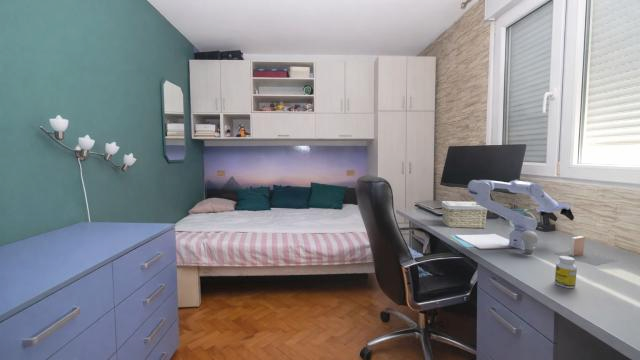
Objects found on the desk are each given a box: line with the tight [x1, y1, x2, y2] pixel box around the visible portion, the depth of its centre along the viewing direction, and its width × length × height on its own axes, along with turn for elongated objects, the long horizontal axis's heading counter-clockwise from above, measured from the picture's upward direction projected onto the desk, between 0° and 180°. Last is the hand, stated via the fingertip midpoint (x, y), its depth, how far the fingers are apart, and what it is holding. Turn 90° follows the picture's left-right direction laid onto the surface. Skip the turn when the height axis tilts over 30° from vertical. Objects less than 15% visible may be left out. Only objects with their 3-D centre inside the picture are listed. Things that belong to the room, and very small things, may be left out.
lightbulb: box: [521, 231, 539, 255], centre depth 128 cm, size 6×6×11 cm
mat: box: [554, 250, 618, 266], centre depth 123 cm, size 16×15×1 cm
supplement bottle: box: [554, 255, 578, 289], centre depth 97 cm, size 5×5×10 cm
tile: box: [569, 235, 586, 256], centre depth 126 cm, size 7×2×8 cm, turn 111°
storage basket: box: [441, 200, 488, 229], centre depth 182 cm, size 24×16×15 cm
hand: (564, 219), depth 137 cm, fingers open, 7 cm apart
